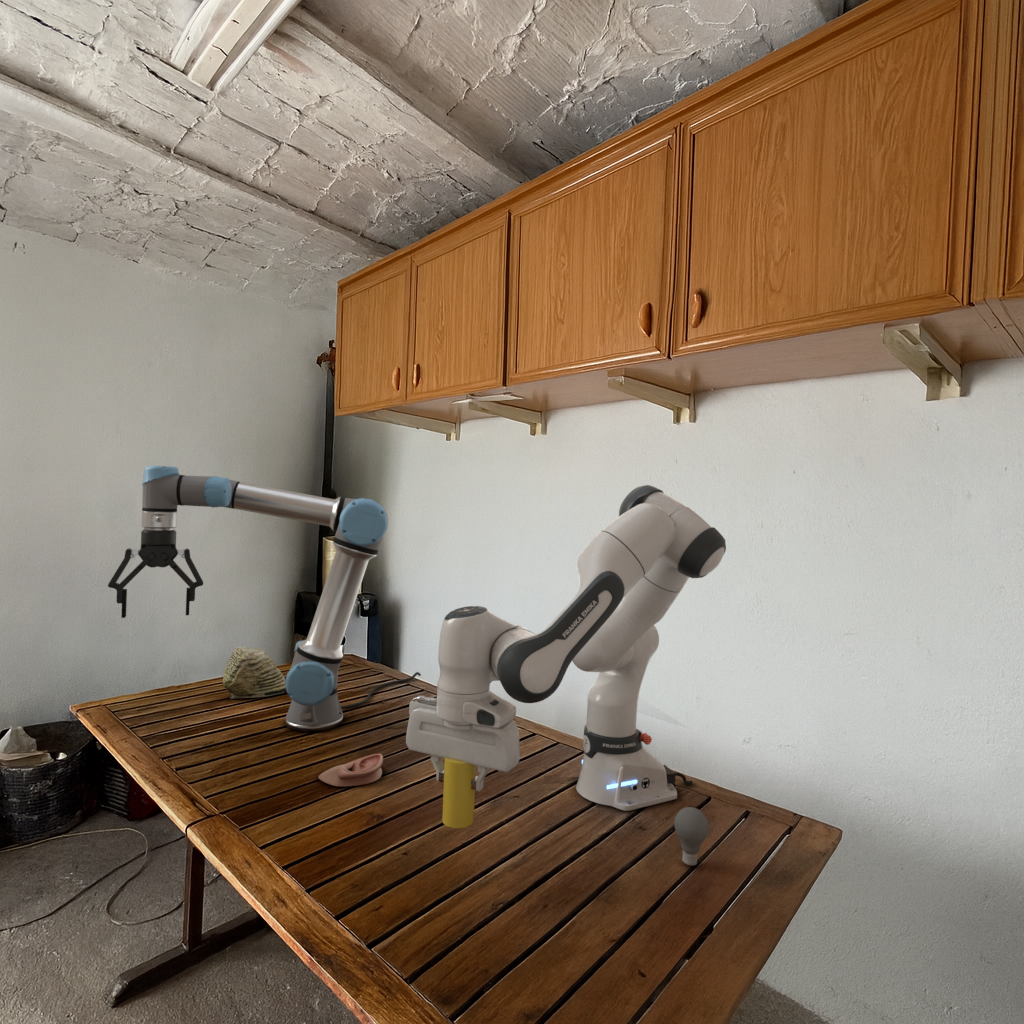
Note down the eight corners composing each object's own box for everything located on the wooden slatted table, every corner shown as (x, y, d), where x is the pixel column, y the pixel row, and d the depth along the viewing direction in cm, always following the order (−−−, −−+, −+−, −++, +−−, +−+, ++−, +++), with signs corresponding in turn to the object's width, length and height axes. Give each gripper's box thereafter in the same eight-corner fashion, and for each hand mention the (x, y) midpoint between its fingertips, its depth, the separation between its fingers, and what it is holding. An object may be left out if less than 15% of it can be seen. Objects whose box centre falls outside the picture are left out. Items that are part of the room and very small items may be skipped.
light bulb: (667, 854, 117) (670, 800, 117) (699, 854, 118) (702, 801, 117) (679, 873, 111) (681, 817, 111) (712, 873, 112) (715, 817, 111)
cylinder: (446, 830, 103) (448, 764, 103) (439, 814, 108) (441, 751, 108) (477, 826, 105) (480, 761, 105) (469, 811, 110) (471, 748, 110)
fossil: (218, 695, 195) (220, 647, 195) (278, 685, 208) (279, 640, 207) (228, 703, 189) (230, 653, 188) (289, 692, 201) (290, 645, 201)
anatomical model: (312, 765, 139) (336, 745, 151) (311, 783, 139) (336, 762, 151) (368, 773, 137) (389, 752, 148) (367, 791, 137) (388, 769, 148)
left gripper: (96, 529, 146) (93, 620, 146) (215, 530, 157) (212, 616, 157) (100, 527, 152) (97, 614, 153) (214, 529, 164) (212, 610, 164)
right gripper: (400, 698, 108) (397, 779, 108) (509, 720, 99) (506, 807, 100) (420, 689, 113) (417, 765, 114) (525, 708, 105) (521, 790, 106)
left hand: (156, 615), depth 155 cm, fingers open, 13 cm apart
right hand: (459, 785), depth 107 cm, fingers closed on cylinder, 5 cm apart
